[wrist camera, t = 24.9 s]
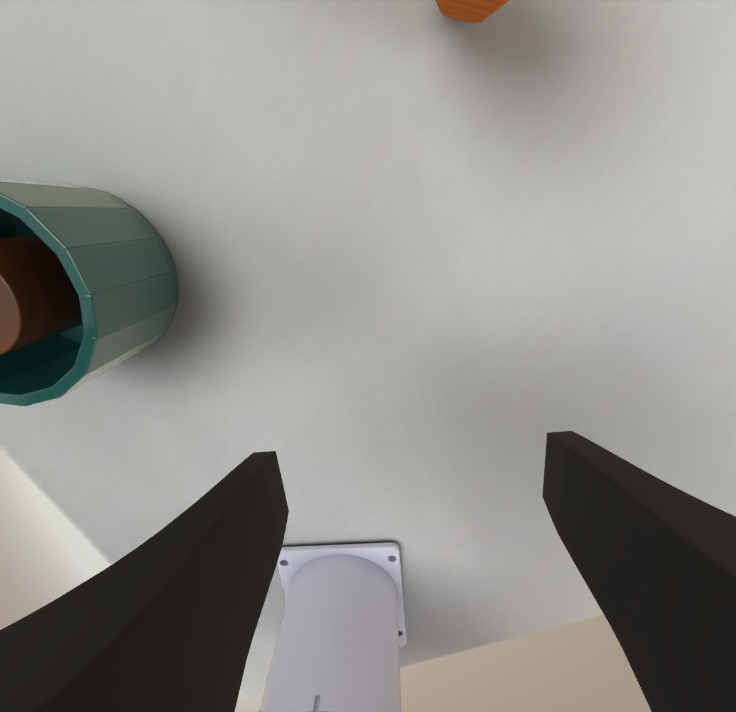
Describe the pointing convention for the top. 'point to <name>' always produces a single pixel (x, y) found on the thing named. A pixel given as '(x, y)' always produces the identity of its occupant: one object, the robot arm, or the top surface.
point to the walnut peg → (33, 293)
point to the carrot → (469, 9)
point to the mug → (87, 286)
